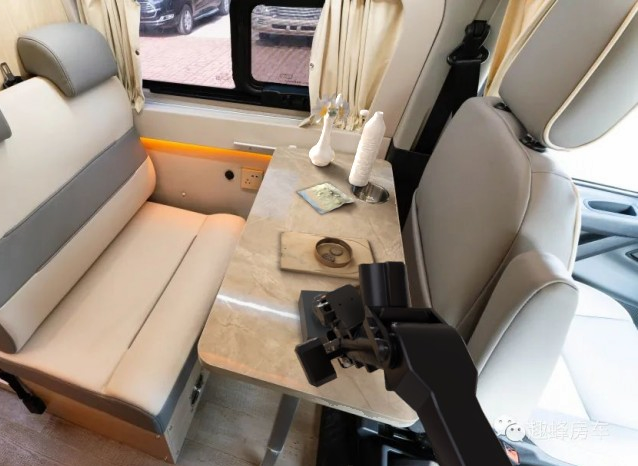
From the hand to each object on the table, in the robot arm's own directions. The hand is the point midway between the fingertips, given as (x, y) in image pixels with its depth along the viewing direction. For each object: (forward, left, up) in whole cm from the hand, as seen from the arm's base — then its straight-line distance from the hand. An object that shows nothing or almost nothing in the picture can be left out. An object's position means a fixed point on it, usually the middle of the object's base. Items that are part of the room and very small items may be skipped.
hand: (340, 339), depth 58 cm
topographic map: (+39, -46, -12) cm, 62 cm away
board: (+21, -25, -12) cm, 35 cm away
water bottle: (+39, -62, -12) cm, 75 cm away
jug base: (+7, -7, -12) cm, 16 cm away
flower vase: (+56, -63, -12) cm, 85 cm away
